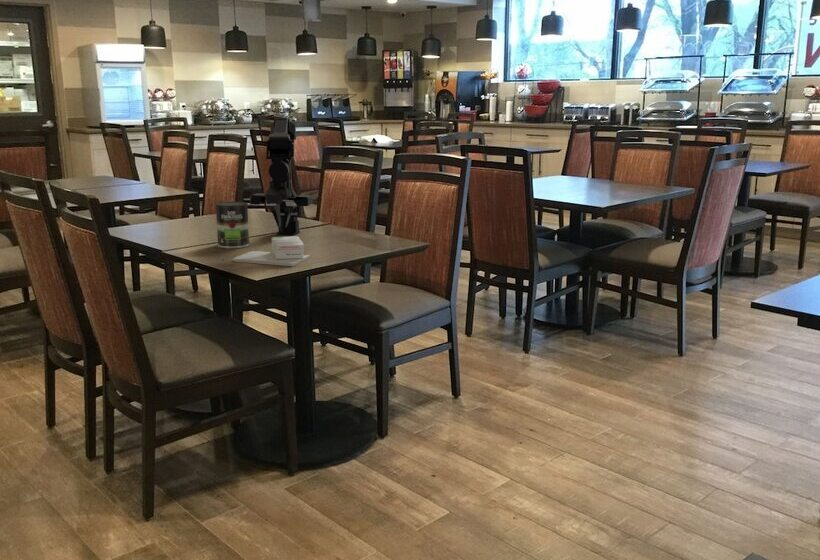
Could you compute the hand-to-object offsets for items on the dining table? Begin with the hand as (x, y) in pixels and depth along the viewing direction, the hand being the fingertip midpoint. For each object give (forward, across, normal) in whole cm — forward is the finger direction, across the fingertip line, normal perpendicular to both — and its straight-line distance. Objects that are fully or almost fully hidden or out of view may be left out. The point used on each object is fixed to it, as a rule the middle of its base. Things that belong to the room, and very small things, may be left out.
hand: (282, 227), depth 232 cm
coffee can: (+9, -20, +9) cm, 24 cm away
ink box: (+5, +1, 0) cm, 5 cm away
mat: (+8, 0, -9) cm, 12 cm away
